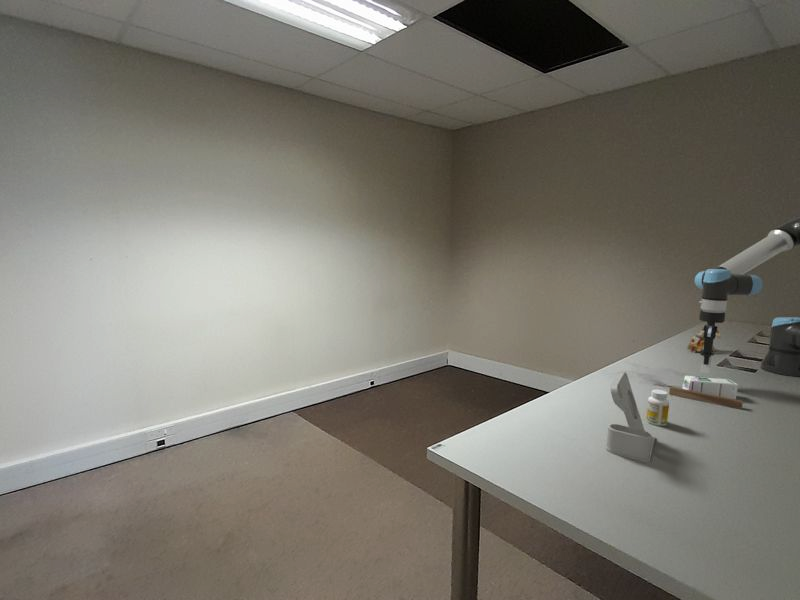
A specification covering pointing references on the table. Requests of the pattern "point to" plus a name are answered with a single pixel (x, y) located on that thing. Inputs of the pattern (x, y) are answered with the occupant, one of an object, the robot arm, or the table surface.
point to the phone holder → (631, 438)
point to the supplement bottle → (658, 408)
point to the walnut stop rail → (706, 397)
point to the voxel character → (699, 341)
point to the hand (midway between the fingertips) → (705, 372)
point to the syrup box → (711, 386)
